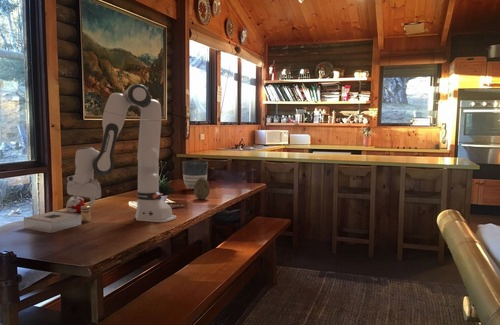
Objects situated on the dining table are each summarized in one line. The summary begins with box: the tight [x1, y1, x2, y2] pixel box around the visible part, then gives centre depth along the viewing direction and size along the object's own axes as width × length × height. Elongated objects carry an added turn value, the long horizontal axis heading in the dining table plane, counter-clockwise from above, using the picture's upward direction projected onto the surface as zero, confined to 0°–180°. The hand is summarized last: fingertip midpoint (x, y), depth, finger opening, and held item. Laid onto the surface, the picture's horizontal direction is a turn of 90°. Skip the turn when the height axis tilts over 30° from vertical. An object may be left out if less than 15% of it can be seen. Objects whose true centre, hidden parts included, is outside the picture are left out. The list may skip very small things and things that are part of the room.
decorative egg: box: [193, 177, 211, 200], centre depth 284 cm, size 11×11×15 cm
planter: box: [182, 160, 209, 190], centre depth 325 cm, size 20×20×21 cm
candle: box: [65, 196, 86, 214], centre depth 236 cm, size 9×11×15 cm
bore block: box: [23, 210, 82, 234], centre depth 205 cm, size 18×18×5 cm
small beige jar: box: [80, 204, 92, 224], centre depth 216 cm, size 5×5×8 cm
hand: (83, 205), depth 216 cm, fingers open, 8 cm apart
